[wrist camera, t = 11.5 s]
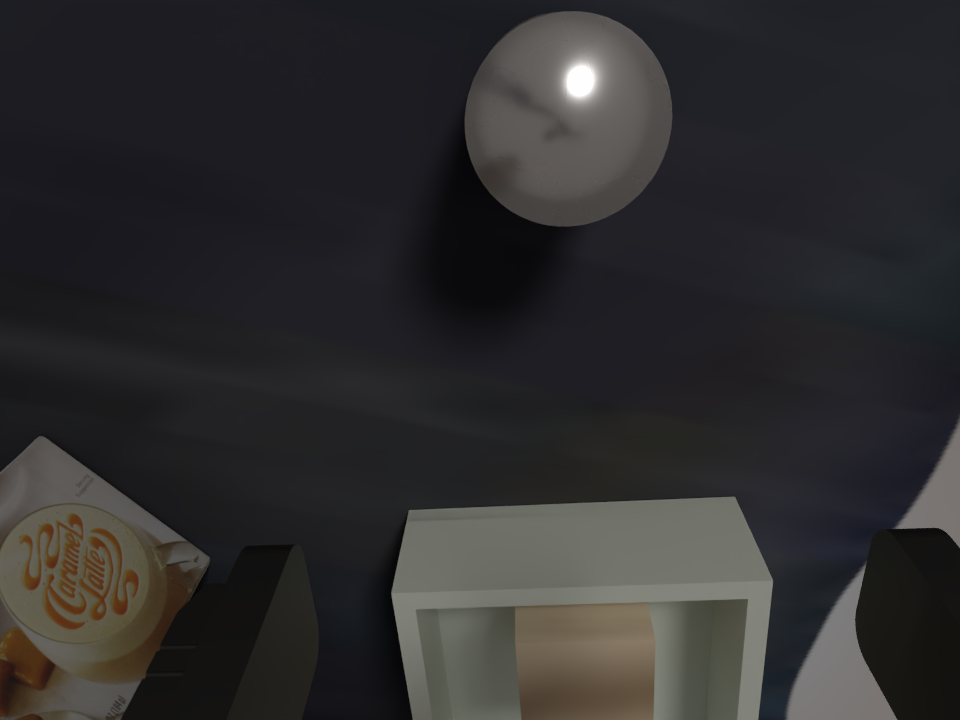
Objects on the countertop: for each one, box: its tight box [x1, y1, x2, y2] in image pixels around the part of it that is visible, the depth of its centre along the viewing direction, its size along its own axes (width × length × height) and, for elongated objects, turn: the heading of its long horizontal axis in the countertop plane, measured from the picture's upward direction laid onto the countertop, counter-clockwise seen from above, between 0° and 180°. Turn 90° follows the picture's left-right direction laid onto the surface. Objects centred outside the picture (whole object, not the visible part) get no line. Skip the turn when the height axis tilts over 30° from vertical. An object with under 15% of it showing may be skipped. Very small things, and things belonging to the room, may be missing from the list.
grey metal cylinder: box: [465, 11, 672, 226], centre depth 21 cm, size 5×5×7 cm
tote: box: [391, 497, 773, 720], centre depth 32 cm, size 18×14×5 cm
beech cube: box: [515, 602, 656, 720], centre depth 30 cm, size 5×5×5 cm
